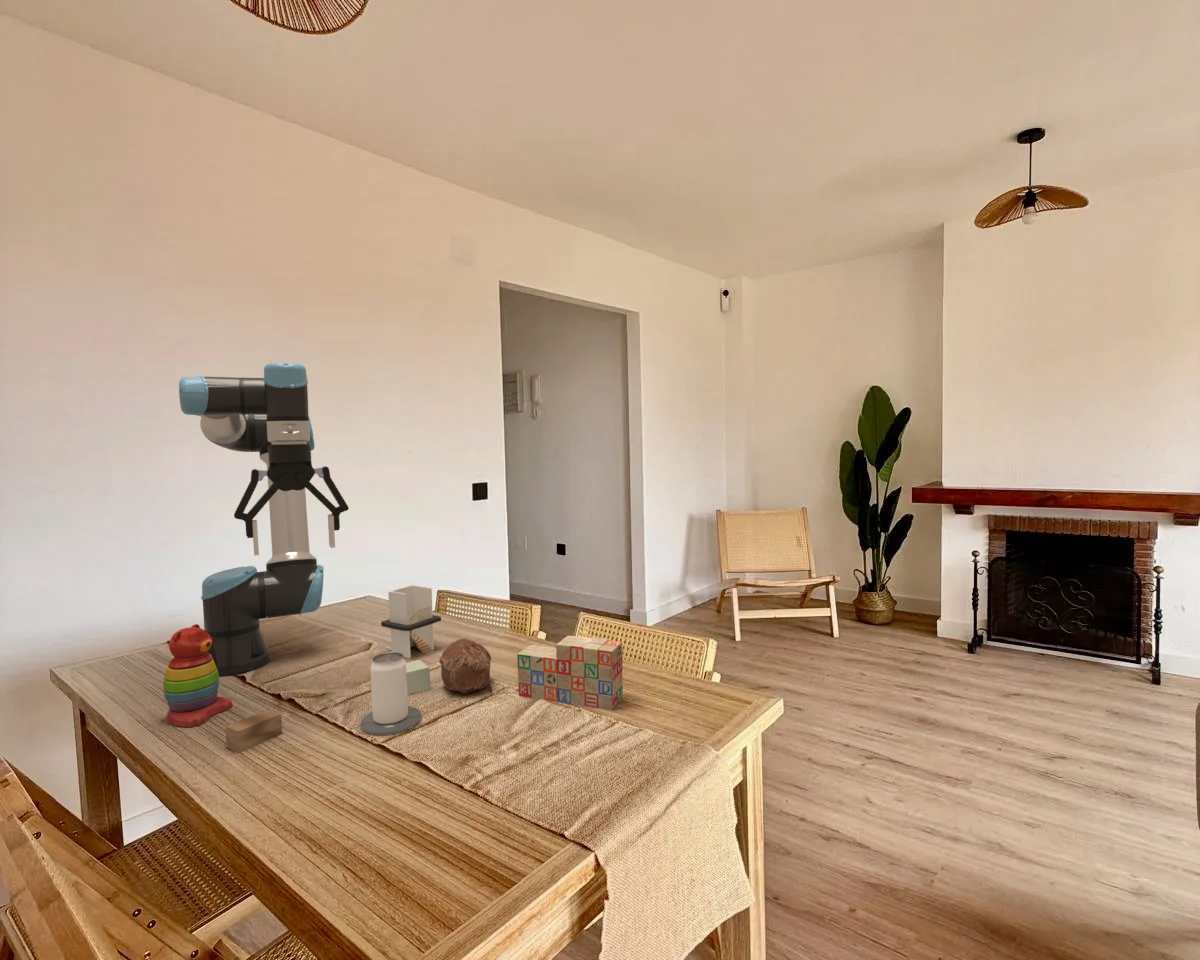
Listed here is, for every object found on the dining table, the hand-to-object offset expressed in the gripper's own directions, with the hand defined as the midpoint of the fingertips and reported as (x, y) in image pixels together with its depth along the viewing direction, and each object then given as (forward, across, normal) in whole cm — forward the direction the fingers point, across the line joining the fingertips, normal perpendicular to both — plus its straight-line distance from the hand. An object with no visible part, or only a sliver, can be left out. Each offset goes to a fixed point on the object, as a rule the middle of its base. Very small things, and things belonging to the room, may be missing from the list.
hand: (295, 550), depth 126 cm
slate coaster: (+33, +14, -15) cm, 39 cm away
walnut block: (+33, -9, -9) cm, 35 cm away
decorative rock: (+33, +32, -6) cm, 46 cm away
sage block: (+33, +21, 0) cm, 39 cm away
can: (+32, +14, -15) cm, 38 cm away
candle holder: (+33, +27, +24) cm, 49 cm away
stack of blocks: (+33, +48, -23) cm, 63 cm away
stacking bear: (+33, -19, +10) cm, 39 cm away
